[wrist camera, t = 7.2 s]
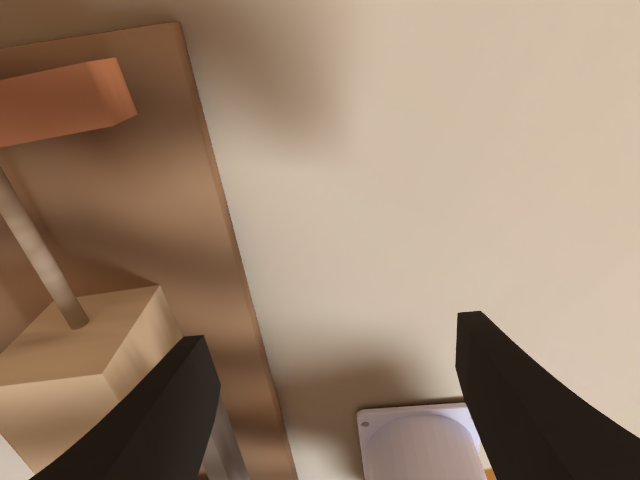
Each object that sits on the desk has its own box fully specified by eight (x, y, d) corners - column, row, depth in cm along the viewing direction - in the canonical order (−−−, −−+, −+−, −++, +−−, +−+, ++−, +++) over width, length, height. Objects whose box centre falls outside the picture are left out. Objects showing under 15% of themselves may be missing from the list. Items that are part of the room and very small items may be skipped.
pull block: (246, 362, 23) (221, 461, 18) (57, 385, 25) (-18, 484, 19) (134, 54, 16) (33, 69, 10) (-133, 110, 17) (-344, 150, 12)
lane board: (301, 490, 31) (297, 542, 28) (104, 500, 32) (80, 551, 29) (180, 22, 16) (143, 21, 13) (-179, 76, 17) (-290, 88, 14)
